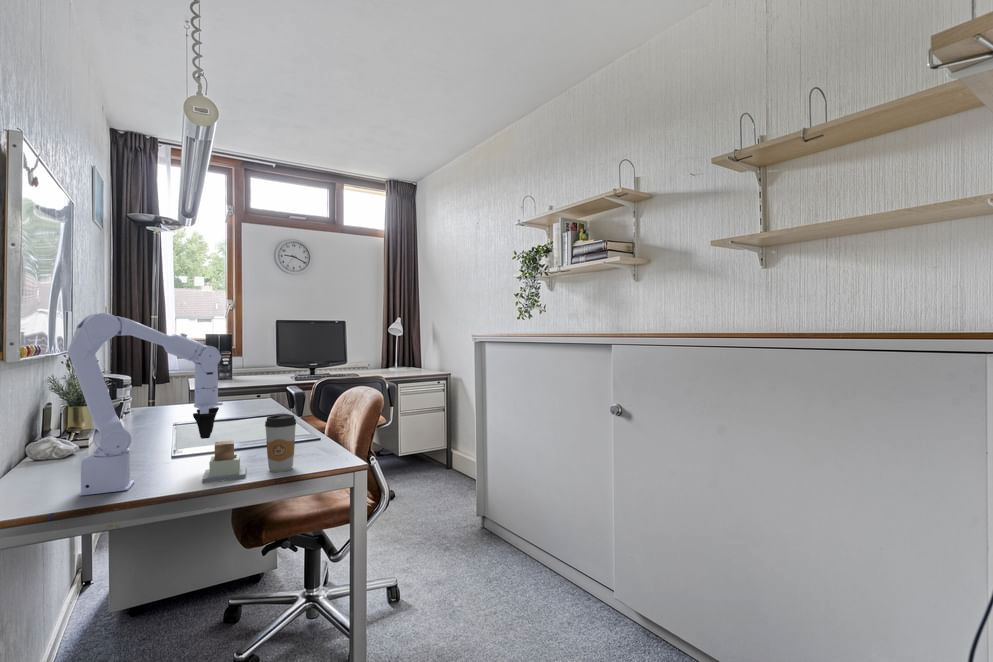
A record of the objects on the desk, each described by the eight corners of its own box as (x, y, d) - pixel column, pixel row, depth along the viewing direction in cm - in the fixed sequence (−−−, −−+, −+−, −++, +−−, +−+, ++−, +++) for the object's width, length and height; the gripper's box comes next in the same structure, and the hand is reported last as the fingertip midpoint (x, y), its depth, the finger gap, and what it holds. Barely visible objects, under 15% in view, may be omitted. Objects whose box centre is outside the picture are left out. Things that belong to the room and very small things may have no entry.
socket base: (202, 483, 129) (202, 464, 129) (205, 473, 138) (205, 456, 138) (245, 477, 133) (245, 460, 133) (245, 468, 142) (245, 452, 142)
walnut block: (214, 463, 132) (214, 445, 132) (215, 460, 137) (215, 441, 137) (233, 461, 135) (233, 443, 135) (234, 458, 139) (234, 440, 139)
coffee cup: (262, 474, 137) (262, 420, 137) (267, 466, 145) (267, 415, 145) (294, 471, 139) (294, 418, 139) (298, 464, 147) (298, 413, 147)
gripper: (220, 389, 136) (221, 439, 136) (223, 384, 149) (224, 429, 149) (190, 391, 133) (191, 441, 133) (196, 385, 146) (196, 432, 146)
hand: (206, 435), depth 141 cm, fingers open, 7 cm apart
